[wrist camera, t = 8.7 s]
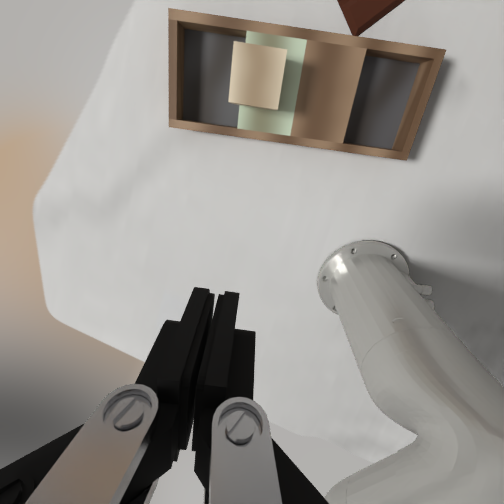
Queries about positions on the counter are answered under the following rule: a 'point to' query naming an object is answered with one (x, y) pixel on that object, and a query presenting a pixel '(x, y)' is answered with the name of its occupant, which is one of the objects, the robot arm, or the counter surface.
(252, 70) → the block
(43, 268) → the counter surface
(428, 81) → the box
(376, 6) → the chocolate bar
